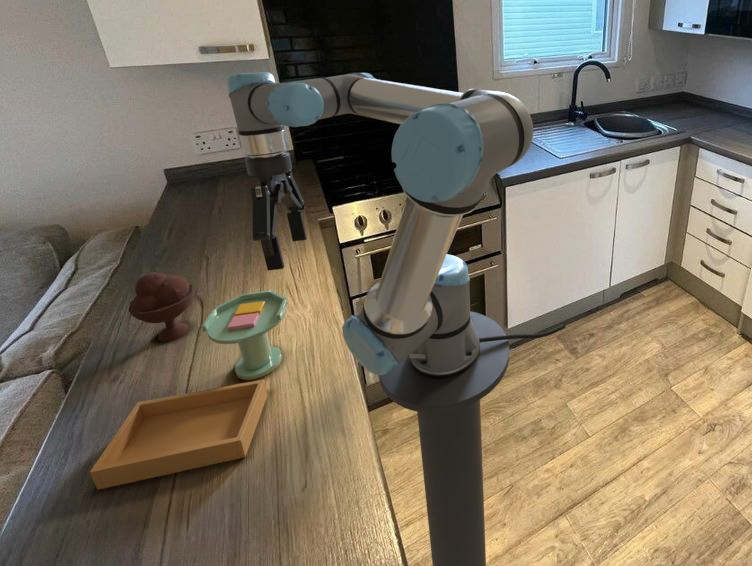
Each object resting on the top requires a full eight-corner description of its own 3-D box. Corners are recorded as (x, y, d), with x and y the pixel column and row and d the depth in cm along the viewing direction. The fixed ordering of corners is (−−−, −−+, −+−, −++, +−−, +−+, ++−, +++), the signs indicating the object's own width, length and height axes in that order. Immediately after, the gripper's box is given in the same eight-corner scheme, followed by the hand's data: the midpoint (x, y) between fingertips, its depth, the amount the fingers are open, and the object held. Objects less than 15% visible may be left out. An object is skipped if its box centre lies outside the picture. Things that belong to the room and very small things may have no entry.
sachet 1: (265, 304, 89) (264, 300, 89) (260, 314, 86) (259, 310, 86) (240, 307, 88) (240, 304, 87) (235, 317, 85) (234, 314, 85)
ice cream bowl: (139, 358, 90) (117, 297, 85) (144, 328, 98) (124, 270, 93) (203, 337, 96) (185, 279, 91) (202, 310, 104) (187, 255, 99)
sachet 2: (259, 316, 85) (258, 312, 85) (254, 326, 83) (253, 323, 82) (234, 319, 84) (233, 316, 84) (227, 330, 81) (226, 327, 81)
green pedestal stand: (301, 336, 97) (291, 287, 92) (286, 382, 85) (274, 328, 81) (234, 347, 93) (220, 296, 89) (209, 397, 81) (192, 341, 77)
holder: (268, 394, 82) (264, 379, 81) (245, 457, 71) (240, 440, 70) (143, 418, 77) (137, 402, 76) (97, 490, 66) (89, 472, 64)
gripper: (271, 142, 96) (290, 232, 101) (211, 172, 72) (240, 286, 77) (307, 139, 97) (325, 228, 103) (261, 167, 73) (286, 280, 79)
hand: (288, 253), depth 90 cm, fingers open, 13 cm apart
